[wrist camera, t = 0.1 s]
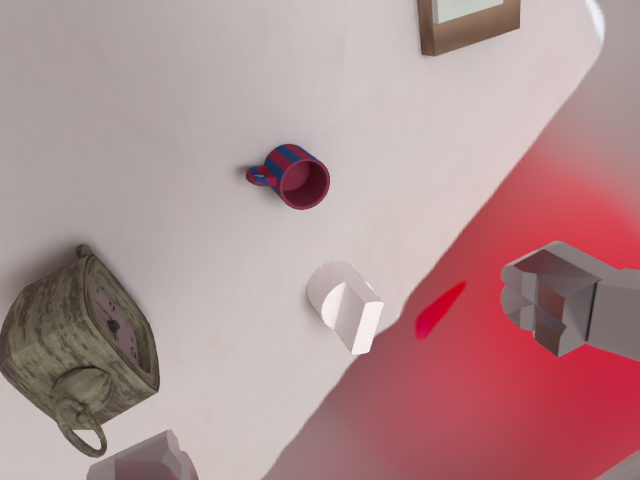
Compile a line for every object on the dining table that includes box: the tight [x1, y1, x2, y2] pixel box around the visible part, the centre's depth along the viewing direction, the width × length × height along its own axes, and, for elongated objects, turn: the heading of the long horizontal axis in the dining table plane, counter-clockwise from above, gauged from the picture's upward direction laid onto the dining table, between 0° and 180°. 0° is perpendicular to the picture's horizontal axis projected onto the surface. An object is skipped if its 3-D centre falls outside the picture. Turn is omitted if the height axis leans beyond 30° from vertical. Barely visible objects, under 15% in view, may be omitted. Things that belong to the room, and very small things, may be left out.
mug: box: [246, 144, 330, 210], centre depth 56 cm, size 7×10×7 cm
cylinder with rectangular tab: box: [307, 261, 384, 354], centre depth 67 cm, size 9×9×12 cm
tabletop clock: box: [0, 245, 160, 458], centre depth 46 cm, size 14×9×25 cm, turn 21°
